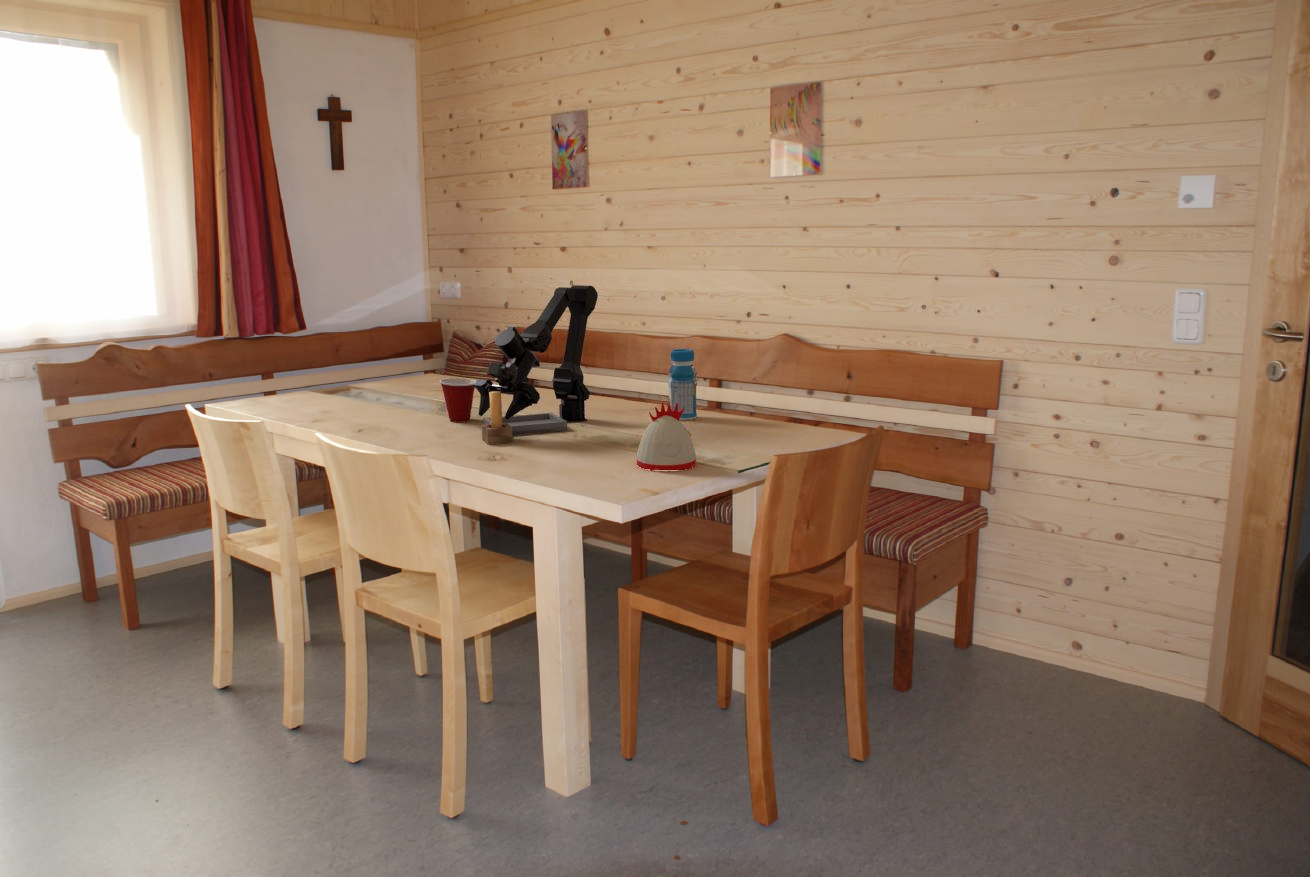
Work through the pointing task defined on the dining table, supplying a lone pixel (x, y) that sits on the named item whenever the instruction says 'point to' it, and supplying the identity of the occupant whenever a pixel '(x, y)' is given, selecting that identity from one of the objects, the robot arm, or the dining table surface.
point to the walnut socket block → (497, 434)
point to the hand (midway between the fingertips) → (492, 416)
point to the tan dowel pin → (495, 409)
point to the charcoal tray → (533, 423)
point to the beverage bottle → (683, 383)
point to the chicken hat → (666, 443)
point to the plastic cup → (458, 397)
